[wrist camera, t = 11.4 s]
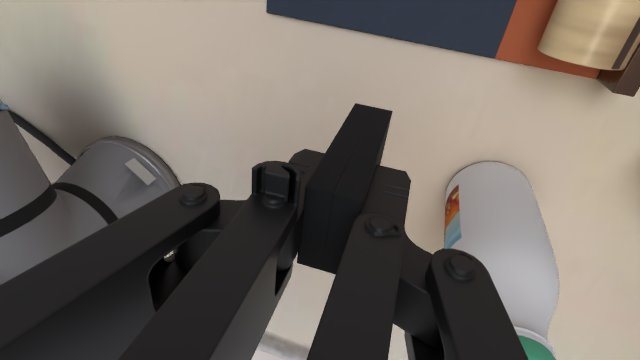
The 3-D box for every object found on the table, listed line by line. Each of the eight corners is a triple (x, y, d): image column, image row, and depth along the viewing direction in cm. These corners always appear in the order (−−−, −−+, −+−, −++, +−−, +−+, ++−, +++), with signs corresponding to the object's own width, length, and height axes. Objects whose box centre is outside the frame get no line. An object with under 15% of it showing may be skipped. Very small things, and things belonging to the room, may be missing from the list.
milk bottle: (475, 144, 35) (495, 314, 18) (551, 183, 34) (640, 391, 18) (430, 203, 39) (414, 382, 23) (497, 238, 39) (530, 445, 22)
